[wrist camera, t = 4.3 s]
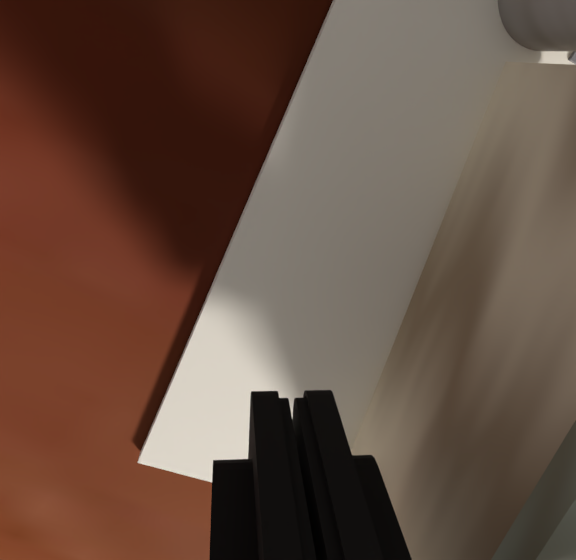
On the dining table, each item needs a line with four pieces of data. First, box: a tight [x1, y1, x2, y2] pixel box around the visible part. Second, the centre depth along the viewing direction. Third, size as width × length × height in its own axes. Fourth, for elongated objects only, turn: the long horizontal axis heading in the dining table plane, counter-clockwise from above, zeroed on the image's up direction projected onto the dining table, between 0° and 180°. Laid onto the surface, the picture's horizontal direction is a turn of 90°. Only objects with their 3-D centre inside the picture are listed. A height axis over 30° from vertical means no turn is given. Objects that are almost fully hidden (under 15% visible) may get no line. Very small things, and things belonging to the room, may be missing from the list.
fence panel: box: [351, 62, 576, 560], centre depth 10 cm, size 12×1×7 cm, turn 165°
